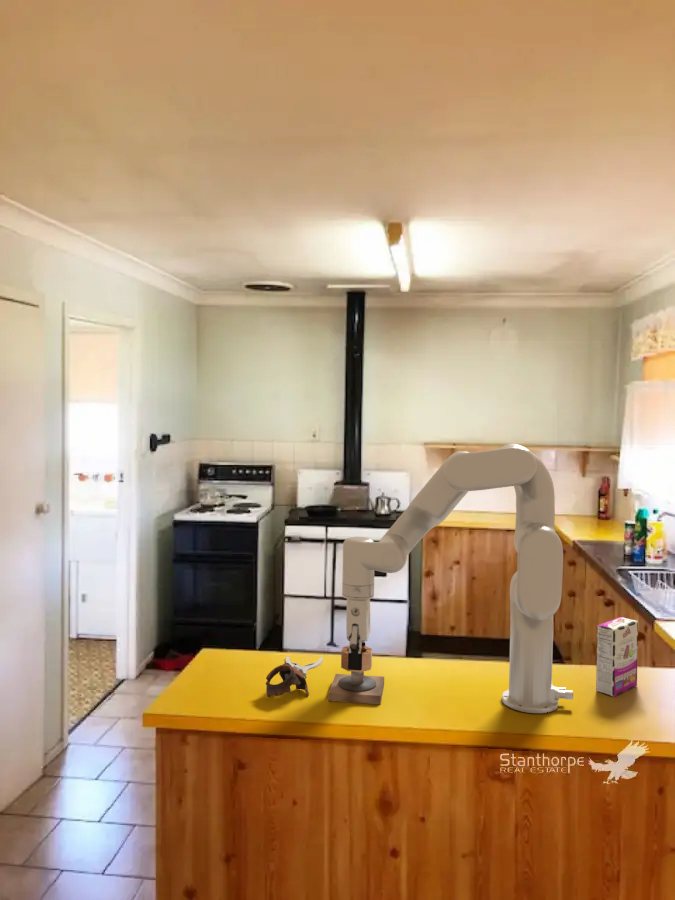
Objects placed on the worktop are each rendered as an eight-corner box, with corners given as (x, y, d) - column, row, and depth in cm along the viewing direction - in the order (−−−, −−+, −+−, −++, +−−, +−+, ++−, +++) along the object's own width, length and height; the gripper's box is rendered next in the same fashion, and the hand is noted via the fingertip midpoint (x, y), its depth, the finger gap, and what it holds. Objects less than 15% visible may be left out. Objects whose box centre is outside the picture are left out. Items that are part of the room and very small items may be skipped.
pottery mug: (314, 703, 166) (299, 677, 163) (277, 721, 166) (261, 695, 163) (307, 672, 178) (293, 647, 175) (273, 689, 177) (258, 664, 174)
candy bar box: (618, 680, 181) (620, 616, 180) (637, 686, 177) (639, 620, 176) (594, 691, 174) (596, 624, 173) (613, 697, 170) (615, 629, 169)
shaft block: (384, 684, 177) (384, 646, 176) (380, 704, 165) (381, 663, 164) (335, 681, 178) (335, 644, 178) (328, 701, 166) (328, 660, 166)
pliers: (323, 653, 195) (319, 673, 180) (323, 659, 195) (318, 680, 180) (286, 652, 196) (279, 672, 181) (286, 658, 196) (279, 678, 181)
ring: (372, 662, 174) (372, 645, 174) (369, 672, 167) (370, 655, 167) (343, 660, 175) (344, 644, 175) (340, 670, 168) (340, 653, 168)
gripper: (370, 600, 161) (369, 678, 162) (376, 582, 178) (375, 652, 179) (337, 598, 162) (336, 676, 163) (346, 580, 179) (345, 650, 180)
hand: (356, 663), depth 171 cm, fingers closed on ring, 7 cm apart
